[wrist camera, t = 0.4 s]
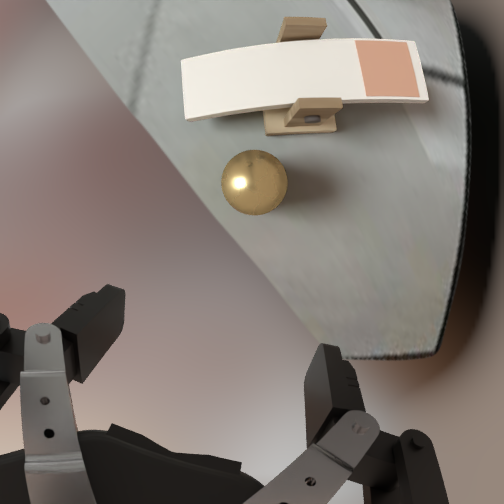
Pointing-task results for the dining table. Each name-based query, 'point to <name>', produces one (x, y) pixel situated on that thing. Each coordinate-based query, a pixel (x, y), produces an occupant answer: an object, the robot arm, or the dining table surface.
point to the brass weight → (254, 182)
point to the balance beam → (301, 75)
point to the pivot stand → (304, 109)
